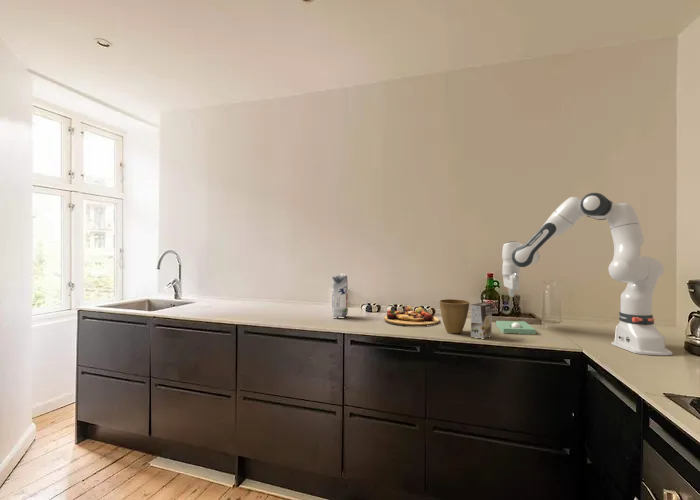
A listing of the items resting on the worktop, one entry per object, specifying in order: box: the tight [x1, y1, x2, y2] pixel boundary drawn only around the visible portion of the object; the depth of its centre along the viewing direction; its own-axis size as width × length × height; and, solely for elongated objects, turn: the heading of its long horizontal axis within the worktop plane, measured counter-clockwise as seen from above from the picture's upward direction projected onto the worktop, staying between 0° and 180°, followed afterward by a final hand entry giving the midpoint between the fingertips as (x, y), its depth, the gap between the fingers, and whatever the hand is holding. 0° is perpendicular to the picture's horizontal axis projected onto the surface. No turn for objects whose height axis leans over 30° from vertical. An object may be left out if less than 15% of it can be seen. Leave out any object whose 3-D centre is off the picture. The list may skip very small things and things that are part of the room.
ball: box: [511, 322, 521, 328], centre depth 199 cm, size 4×4×4 cm
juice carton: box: [331, 273, 349, 318], centre depth 240 cm, size 9×10×27 cm
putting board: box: [495, 320, 537, 335], centre depth 203 cm, size 20×15×2 cm
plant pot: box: [439, 298, 470, 334], centre depth 198 cm, size 15×15×16 cm
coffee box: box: [470, 302, 493, 339], centre depth 188 cm, size 9×6×16 cm
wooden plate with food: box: [383, 305, 440, 327], centre depth 227 cm, size 32×32×8 cm
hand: (511, 296), depth 210 cm, fingers closed
